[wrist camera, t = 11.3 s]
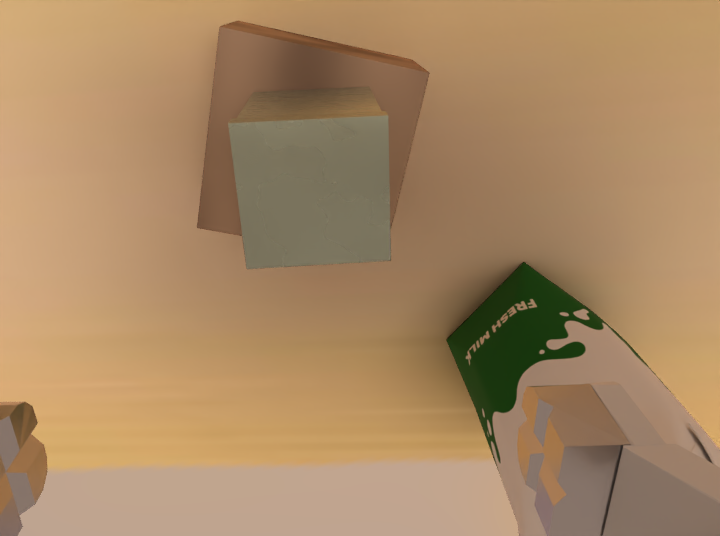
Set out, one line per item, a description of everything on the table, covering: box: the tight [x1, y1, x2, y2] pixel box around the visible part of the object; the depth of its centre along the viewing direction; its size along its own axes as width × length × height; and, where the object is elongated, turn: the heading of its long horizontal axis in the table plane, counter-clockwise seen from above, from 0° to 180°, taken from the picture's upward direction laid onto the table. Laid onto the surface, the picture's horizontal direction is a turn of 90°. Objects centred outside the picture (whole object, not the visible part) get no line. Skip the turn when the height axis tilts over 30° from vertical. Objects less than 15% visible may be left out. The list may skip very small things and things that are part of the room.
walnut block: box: [197, 21, 429, 236], centre depth 30 cm, size 9×9×6 cm
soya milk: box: [447, 262, 720, 536], centre depth 30 cm, size 9×9×20 cm
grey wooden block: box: [228, 87, 391, 269], centre depth 24 cm, size 5×5×7 cm
